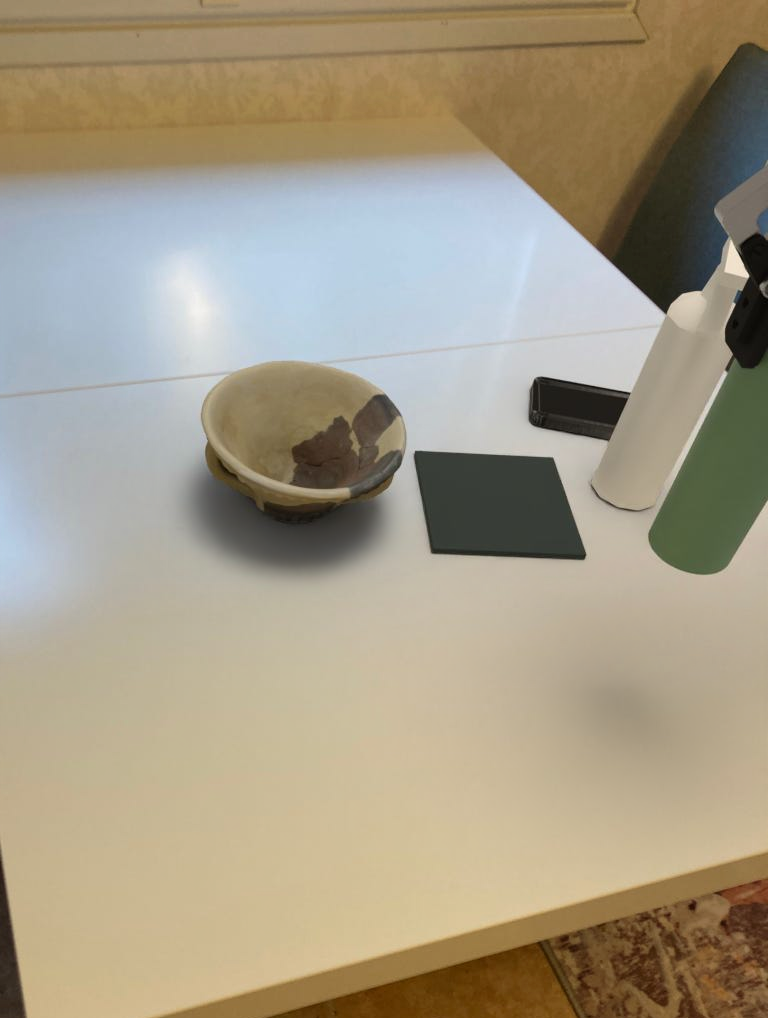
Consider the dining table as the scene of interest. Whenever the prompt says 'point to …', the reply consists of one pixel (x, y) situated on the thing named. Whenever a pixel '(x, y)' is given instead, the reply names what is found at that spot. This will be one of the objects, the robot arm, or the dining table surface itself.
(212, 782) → the dining table surface
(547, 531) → the mat
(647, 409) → the white cylindrical bottle
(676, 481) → the mister
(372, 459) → the bowl
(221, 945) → the dining table surface
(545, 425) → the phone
